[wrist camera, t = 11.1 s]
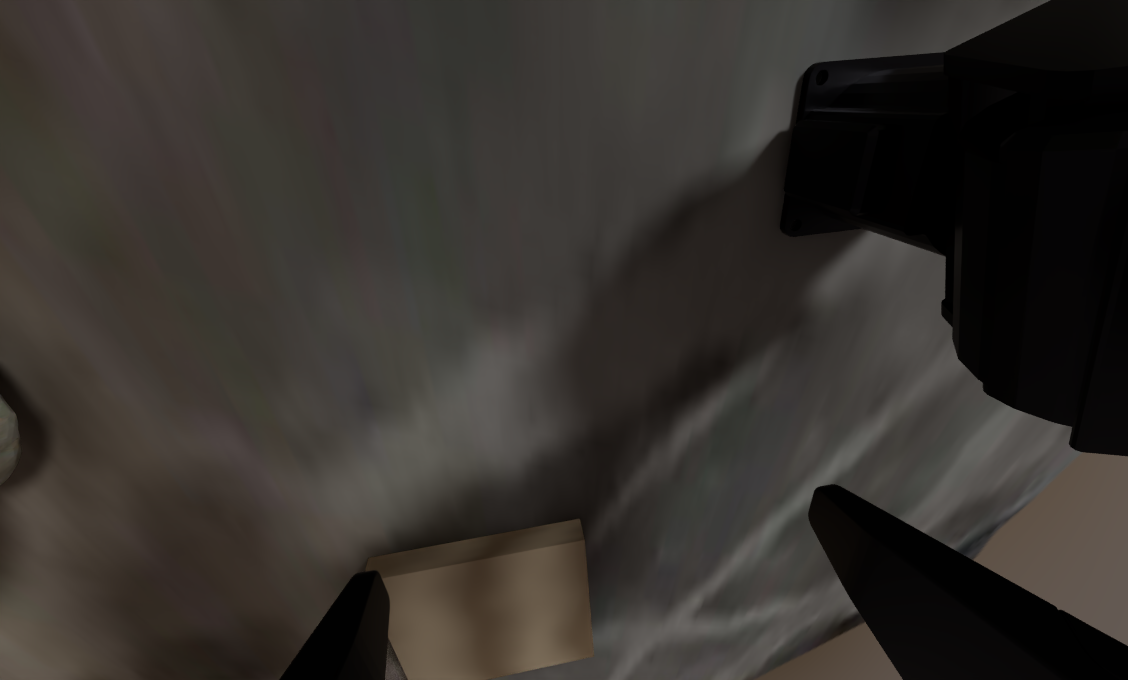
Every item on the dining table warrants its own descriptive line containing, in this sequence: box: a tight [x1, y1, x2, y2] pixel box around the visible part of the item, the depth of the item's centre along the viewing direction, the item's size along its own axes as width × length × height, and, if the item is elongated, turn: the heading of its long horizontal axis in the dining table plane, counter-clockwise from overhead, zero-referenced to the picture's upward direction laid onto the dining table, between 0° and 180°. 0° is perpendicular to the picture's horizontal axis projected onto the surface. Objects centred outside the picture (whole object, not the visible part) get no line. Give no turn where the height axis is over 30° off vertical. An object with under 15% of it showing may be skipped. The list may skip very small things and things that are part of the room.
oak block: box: [365, 519, 594, 680], centre depth 28 cm, size 12×12×2 cm
